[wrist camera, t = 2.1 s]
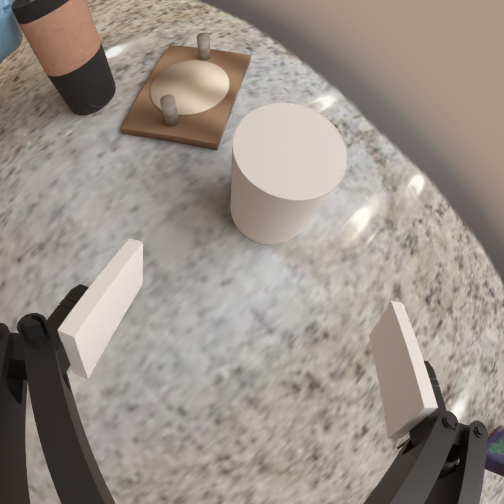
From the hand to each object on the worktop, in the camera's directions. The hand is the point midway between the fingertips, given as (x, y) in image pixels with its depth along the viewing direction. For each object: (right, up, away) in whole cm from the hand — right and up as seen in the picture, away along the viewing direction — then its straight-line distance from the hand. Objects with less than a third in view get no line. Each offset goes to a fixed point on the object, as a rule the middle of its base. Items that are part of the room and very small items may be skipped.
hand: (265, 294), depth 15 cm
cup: (+1, +7, +17) cm, 18 cm away
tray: (-9, +22, +19) cm, 31 cm away
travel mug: (-23, +24, +19) cm, 38 cm away
